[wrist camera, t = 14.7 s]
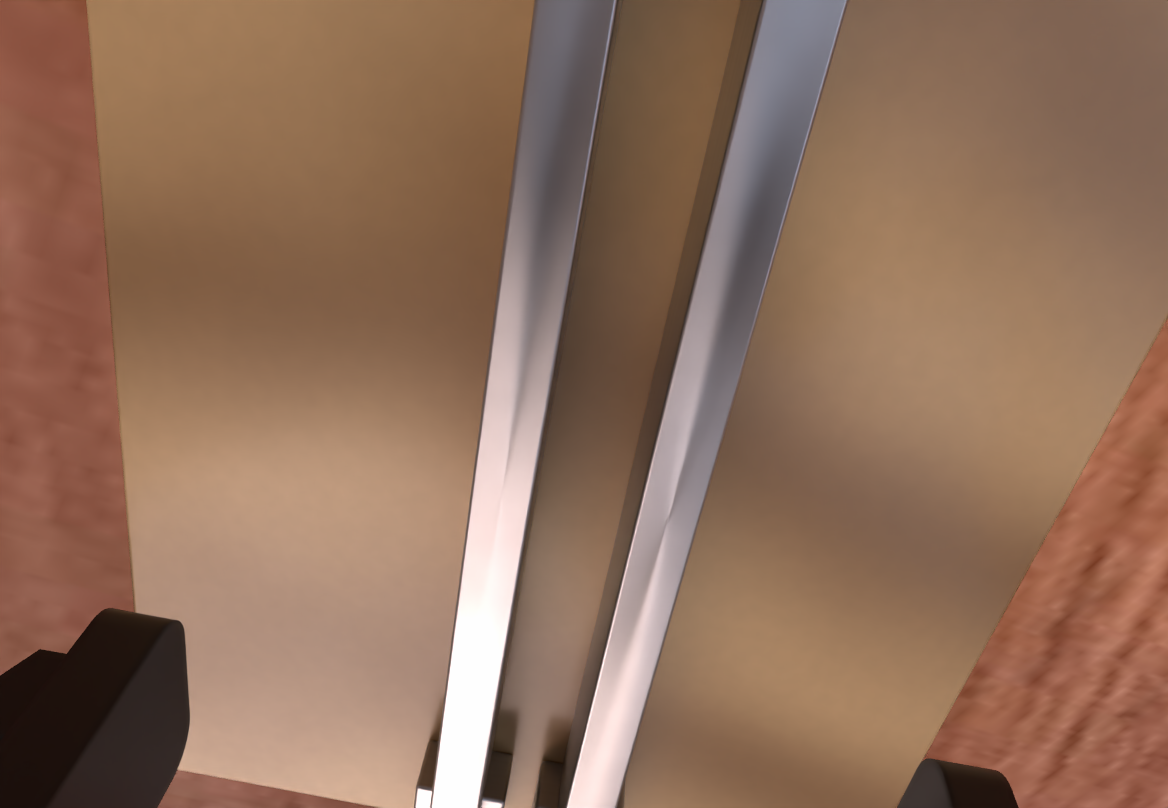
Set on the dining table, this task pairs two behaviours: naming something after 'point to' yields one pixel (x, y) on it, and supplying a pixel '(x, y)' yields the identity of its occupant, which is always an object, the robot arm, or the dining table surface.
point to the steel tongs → (677, 396)
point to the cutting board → (611, 372)
